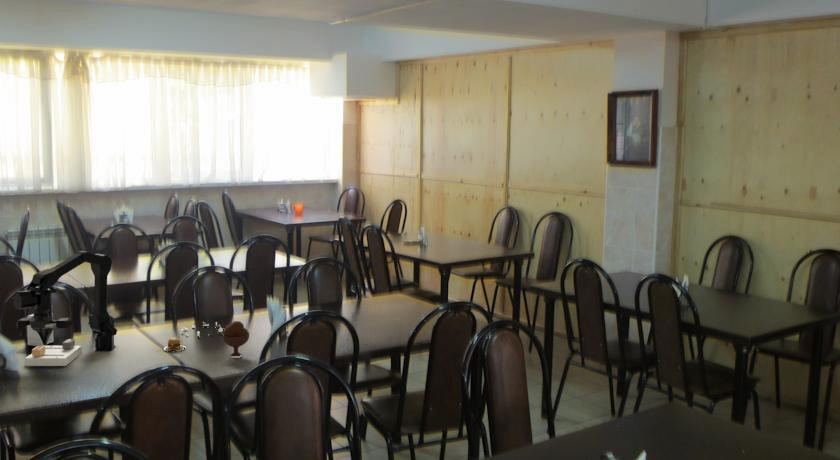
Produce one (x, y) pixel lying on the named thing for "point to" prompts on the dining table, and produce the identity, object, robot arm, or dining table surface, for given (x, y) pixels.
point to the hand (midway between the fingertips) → (45, 344)
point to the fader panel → (54, 356)
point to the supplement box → (36, 336)
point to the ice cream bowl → (235, 336)
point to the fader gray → (68, 344)
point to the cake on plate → (174, 344)
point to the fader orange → (38, 351)
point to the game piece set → (198, 331)
